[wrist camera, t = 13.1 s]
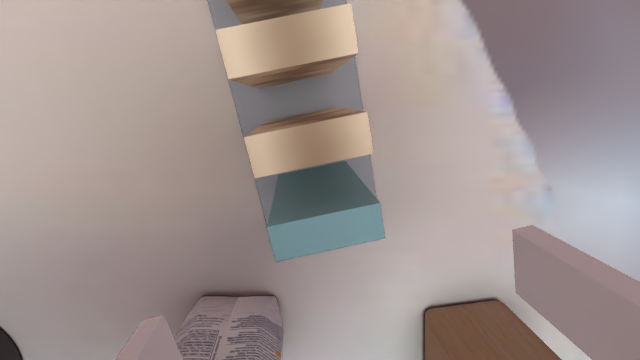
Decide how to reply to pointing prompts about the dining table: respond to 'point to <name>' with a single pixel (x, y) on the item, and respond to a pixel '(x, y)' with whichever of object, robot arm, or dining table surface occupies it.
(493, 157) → the dining table surface
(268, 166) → the tile
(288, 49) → the tile
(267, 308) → the juice carton
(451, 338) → the wooden block
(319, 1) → the tile
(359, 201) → the end tile
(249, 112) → the mat
